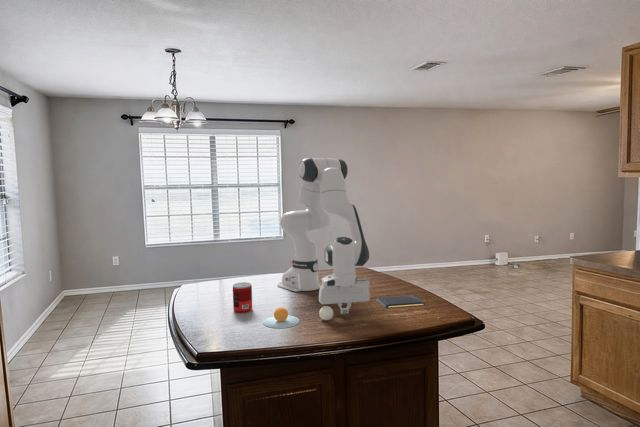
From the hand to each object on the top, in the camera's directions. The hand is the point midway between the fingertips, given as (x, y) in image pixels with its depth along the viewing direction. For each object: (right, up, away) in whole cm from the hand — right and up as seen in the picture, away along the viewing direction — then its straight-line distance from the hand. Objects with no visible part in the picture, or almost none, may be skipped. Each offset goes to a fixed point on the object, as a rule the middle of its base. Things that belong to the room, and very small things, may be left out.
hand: (344, 313), depth 167 cm
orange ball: (-25, 0, -4) cm, 25 cm away
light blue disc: (-25, -2, -4) cm, 25 cm away
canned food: (-42, -2, +11) cm, 44 cm away
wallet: (+26, -1, +19) cm, 32 cm away
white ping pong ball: (-7, +1, -3) cm, 8 cm away
